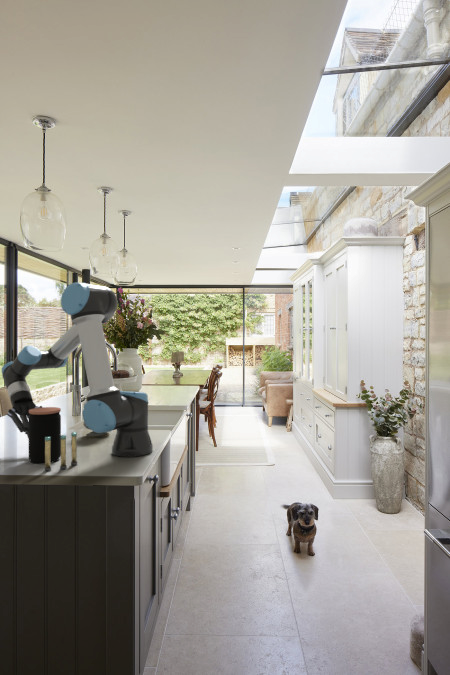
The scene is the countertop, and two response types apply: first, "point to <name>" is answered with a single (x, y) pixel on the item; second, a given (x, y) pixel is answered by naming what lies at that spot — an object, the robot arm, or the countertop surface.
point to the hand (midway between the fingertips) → (36, 445)
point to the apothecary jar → (94, 434)
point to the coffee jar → (44, 433)
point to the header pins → (63, 452)
